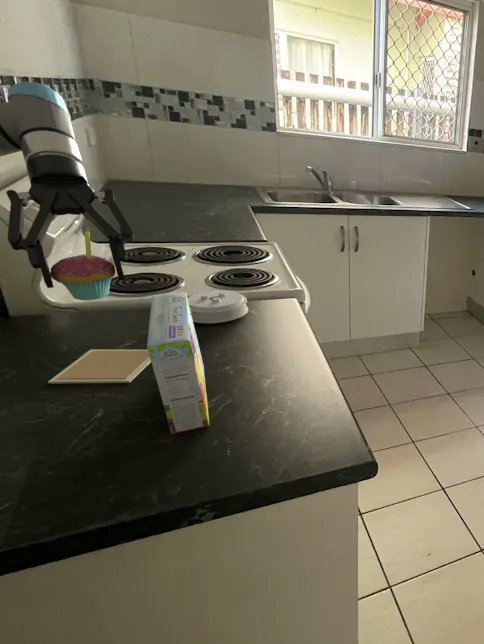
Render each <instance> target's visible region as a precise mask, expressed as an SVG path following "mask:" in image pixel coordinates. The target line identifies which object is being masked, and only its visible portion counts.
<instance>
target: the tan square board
mask: <svg viewBox="0 0 484 644" xmlns="http://www.w3.org/2000/svg"><path fill="white" fill-rule="evenodd" d="M150 364H152V363H151V359H150V356H149V353H148V350H147V349H90V350H88V351H87V352H86V353H84V354H83V355H81V356H80V357H78V359H76V360H74V362H72V363H71V364H69V365H68V366H66V367H65V368H64V369H63V370H62V371H60V372H59V373H57V374H56V375H55V376H54V377H52V378H51V379H50V380H48V381H47V384H48V385H49V384H50V385H51V384H57V385H58V384H130V383H131V382H132V381H133V380H134V379H135V378H137V377H138V376H139V375H140V373H141V372H143V371H144V370H145V369H146V368H147V367H148V366H149V365H150Z"/></svg>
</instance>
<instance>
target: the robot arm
mask: <svg viewBox="0 0 484 644" xmlns="http://www.w3.org/2000/svg"><path fill="white" fill-rule="evenodd" d="M6 97H7V101H6V102H1V103H0V157H4V156H9V155H11V154H15V153H18V152H22V156H23V159H24V164H25V167H26V171H27V175H28V179H29V183H30V188H29V189H28V191H23V192H22V191H21V192H17V191H16V190H14V189H8V190H6V195H7V196H6V197H7V198H8V200H9V202H10V207H9V217H8V228H7V241H8V243H9V245H10V247H11V249H12V250H14V251H20V250H22V251H25V252H26V253H27V257H28V261H29V264H30V266H31V267H32V268H33V269H40V271H41V275H42V279H43V282H44V284H45V287H46V288H47V289H53V288H54V283H53V278H52V277H51V275H50V271H51V270H50V267H49V263H48V259H47V255H46V252H45V250H44V248H43V245H42V243H43V241H44V238H45V236H46V234H47V232H48V231H49V228H50V226H51V223H52V222H54V220H55V218H56V216H65V215H66V216H67V215H72V216H73V215H75V216H76V215H77V216H79V215H82V216H83V218H85V219H86V220H88V221H89V222H90V223H91V224H92V225H93V226H94V227H95V228H96V229H98V231H100V232H101V233H102V234H103V236H104V237H106V239H108V245H109V249H110V252H111V256H112V260H113V263H114V265H115V268H116V275H117V277H118V281H126V279H125V275H124V270H123V267H122V264H121V262H126V261H128V260H127V259H128V257H127V252H126V249H125V245H126V244H127V243H129V244H131V243H134V242H135V237H134V236H135V235H134V232H133V230H132V228H131V227H130V225H129V223H128V221H127V219H126V218H125V217H124V215H123V213H122V211H121V209H119V206H118V205H117V203H116V200H115V196H114V195H115V194H114V191H113V190H112V189H110V188H106V189H105V190H104V191H99V190H94V189H93V188H92V187H91V186H90V184H89V181H88V177H87V173H86V170H85V167H84V164H83V163H84V162H83V159H82V155H81V153H80V148H79V146H78V142H77V140H76V136H75V132H74V129H73V124H72V117H71V115H70V112H69V111H68V108H67V105H66V102H65V101H64V98H63V97H62V96H61V94H60V93H58V92H57V91H55V90H54V89H53V88H51V87H49V86H48V85H45V84H43V83H42V84H41V83H39V82H33V81H19V82H17V83H14V84H13V85H12V86H11V87H9V89H8V90H7V96H6ZM96 200H98V201H99V202H100V204H102V205H103V206H106V209H107V211H108V213H109V215H110V216H111V218H112V220H113V221H114V223H115V225H116V226H117V228H118V230H119V231H120V232H118V231H117V230H116V228H114V227H113V226H112V225H111V224H110V223H109V222H108V221H107V220H106V219H105V218H104V217H103V216H102V215H100V213H99V212H98V211H96V209H95V208H94V207H93V206H92V203H93V202H94V201H96ZM30 201H33V202H34V203H36V204H37V205H39V207H38V208H39V209H38V212H37V214H36V216H35V218H34V220H33V222H32V224H31V226H30V228H29V230H28V232H27V235H26V236H25V238H24V230H25V229H24V228H25V218H26V217H25V215H26V211H25V208H27V207H28V206H29V202H30Z"/></svg>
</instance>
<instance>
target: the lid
mask: <svg viewBox="0 0 484 644" xmlns="http://www.w3.org/2000/svg"><path fill="white" fill-rule="evenodd" d="M187 298H188V303H189V307H190V312H191V316H192V320H193V323H197V324H218V323H225V322H231V321H234V320H237V319H240V318H242V317H244V316H245V315H247V314H248V312H249V307H248V306H247V302H248V299H247V297H246V296H245V295H243V294H241V293H239V292H237V291H234V290H220V289H219V290H207V291H202V292H198V293H195V294H192V295H190V296H189V297H187Z"/></svg>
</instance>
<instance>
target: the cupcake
mask: <svg viewBox="0 0 484 644" xmlns="http://www.w3.org/2000/svg"><path fill="white" fill-rule="evenodd" d="M89 229H90V227H89V226H87V227H86V230H85V231H84V242H85V243H84V244H85V254H80V255H79V254H77V255H75V256H74V255H73V256H68V257H64V258H61V259H60V260H58V261H57V262H56V263H54V264H53V265H52V266H51V268H50V270H49V271H50V275H51V278H52V280H53V281H55V282H57V283H59V284H62V285H63V286H64V287H65V289H67V291H68V292H69V293H70V295H71V296H72V298H74V299H75V300H78V301H93V300H94V301H95V300H99V299H102V298H105V297H107V296H108V295H110V287H111V281H112V278H114V277H115V276H117V271H116V267H115V264H114V262H113V261H110V260H109V259H107V258H105V257H102V256H97V255H94V254H92V246H91V245H92V244H91V232H90V230H89Z"/></svg>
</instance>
